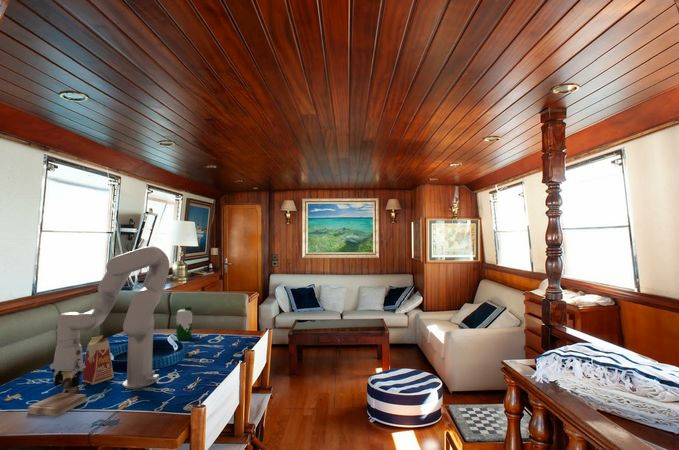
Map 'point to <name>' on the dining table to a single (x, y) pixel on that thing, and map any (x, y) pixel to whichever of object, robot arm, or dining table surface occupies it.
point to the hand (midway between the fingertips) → (67, 385)
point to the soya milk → (184, 323)
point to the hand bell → (66, 375)
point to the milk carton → (97, 361)
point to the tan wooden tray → (57, 404)
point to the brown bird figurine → (69, 386)
